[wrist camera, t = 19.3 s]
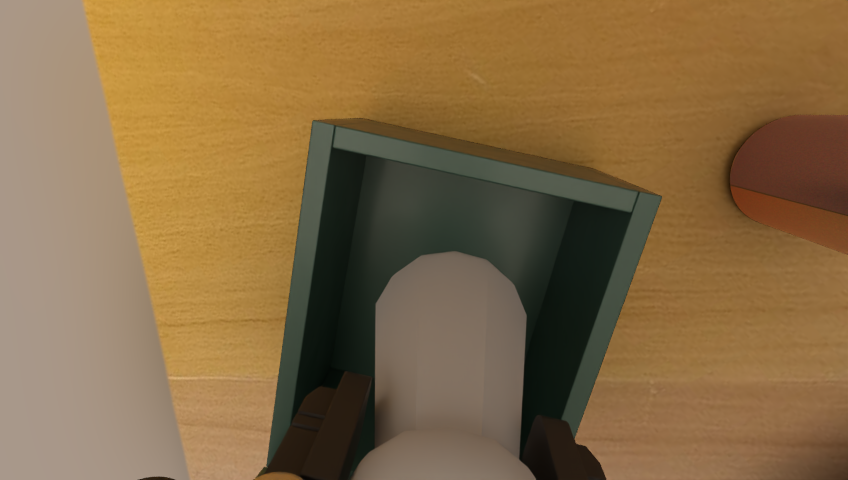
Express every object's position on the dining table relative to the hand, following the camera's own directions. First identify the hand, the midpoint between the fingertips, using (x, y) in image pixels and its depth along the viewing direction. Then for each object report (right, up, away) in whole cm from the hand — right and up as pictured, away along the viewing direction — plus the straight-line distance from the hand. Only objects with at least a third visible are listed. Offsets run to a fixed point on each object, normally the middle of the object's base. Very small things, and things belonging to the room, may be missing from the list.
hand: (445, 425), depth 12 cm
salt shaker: (+1, +2, +8) cm, 8 cm away
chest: (+1, +2, +16) cm, 17 cm away
